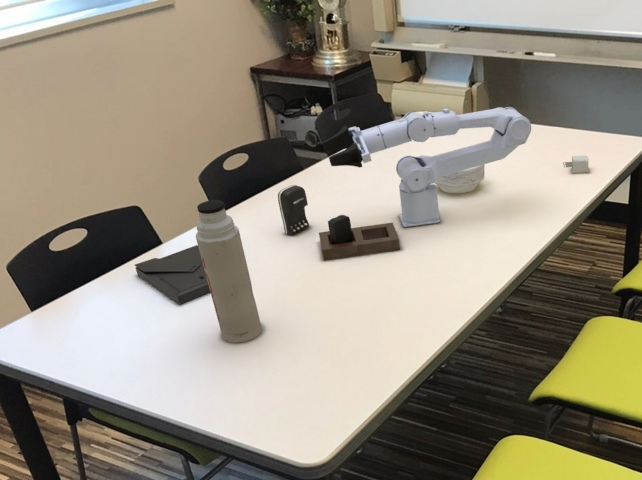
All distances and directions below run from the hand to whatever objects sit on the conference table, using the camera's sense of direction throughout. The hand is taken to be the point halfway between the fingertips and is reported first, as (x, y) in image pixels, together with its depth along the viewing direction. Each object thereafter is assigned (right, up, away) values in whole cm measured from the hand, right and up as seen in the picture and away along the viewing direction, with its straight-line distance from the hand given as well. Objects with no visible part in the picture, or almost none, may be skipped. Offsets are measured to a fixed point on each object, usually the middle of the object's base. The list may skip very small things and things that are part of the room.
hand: (326, 154), depth 190 cm
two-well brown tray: (+7, -21, +5) cm, 23 cm away
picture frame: (-31, -30, -5) cm, 43 cm away
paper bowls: (+30, 0, +34) cm, 45 cm away
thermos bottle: (-12, -44, -26) cm, 53 cm away
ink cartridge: (+3, -22, +4) cm, 23 cm away
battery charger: (-10, -16, +14) cm, 23 cm away
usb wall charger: (+64, +6, +40) cm, 76 cm away
